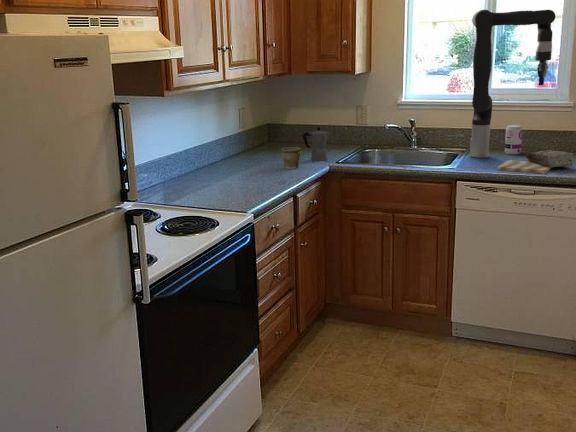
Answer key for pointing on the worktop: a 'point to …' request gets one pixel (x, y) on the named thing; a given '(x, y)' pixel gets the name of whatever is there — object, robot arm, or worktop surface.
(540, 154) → the stone block
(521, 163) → the cutting board
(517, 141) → the supplement can
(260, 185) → the worktop surface
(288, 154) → the ceramic cup
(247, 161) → the worktop surface
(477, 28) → the robot arm
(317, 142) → the coffeepot
